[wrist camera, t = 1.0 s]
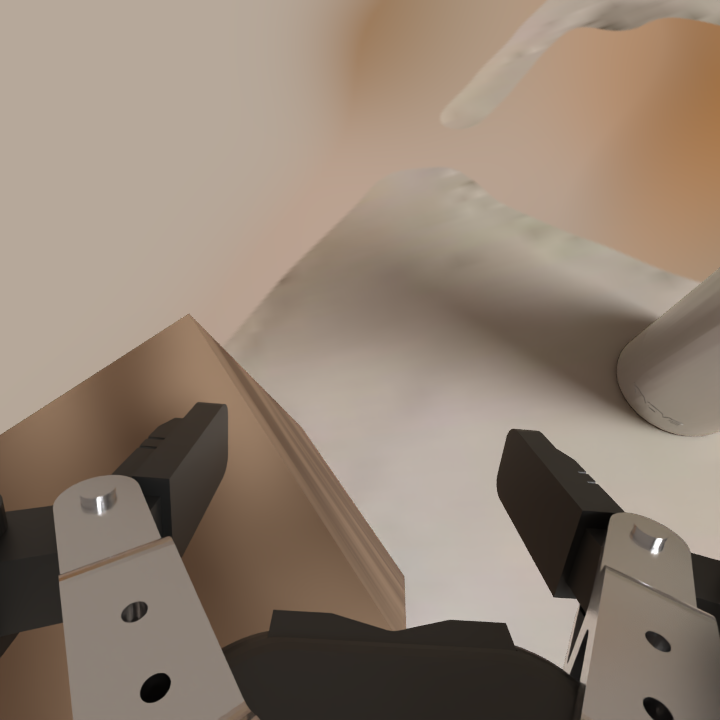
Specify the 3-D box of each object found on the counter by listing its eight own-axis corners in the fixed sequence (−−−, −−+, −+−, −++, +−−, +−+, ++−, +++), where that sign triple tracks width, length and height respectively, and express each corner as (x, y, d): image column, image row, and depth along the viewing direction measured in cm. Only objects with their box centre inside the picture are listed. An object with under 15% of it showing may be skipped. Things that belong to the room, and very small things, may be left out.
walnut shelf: (302, 428, 35) (188, 313, 16) (404, 576, 29) (406, 653, 11) (92, 581, 31) (-342, 654, 13) (165, 778, 26) (-381, 1351, 8)
